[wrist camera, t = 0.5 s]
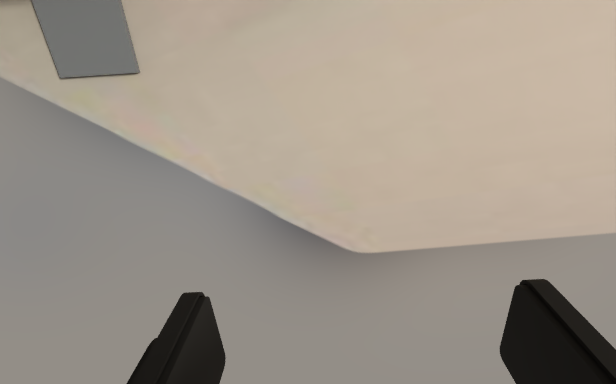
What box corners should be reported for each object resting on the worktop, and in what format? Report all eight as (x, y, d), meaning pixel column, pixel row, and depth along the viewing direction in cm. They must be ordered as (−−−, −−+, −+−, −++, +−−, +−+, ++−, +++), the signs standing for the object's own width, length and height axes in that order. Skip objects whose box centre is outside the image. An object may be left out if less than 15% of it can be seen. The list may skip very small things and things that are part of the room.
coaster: (30, -16, 32) (25, -17, 31) (114, -23, 32) (111, -25, 31) (64, 77, 36) (60, 77, 35) (140, 72, 35) (137, 72, 35)
